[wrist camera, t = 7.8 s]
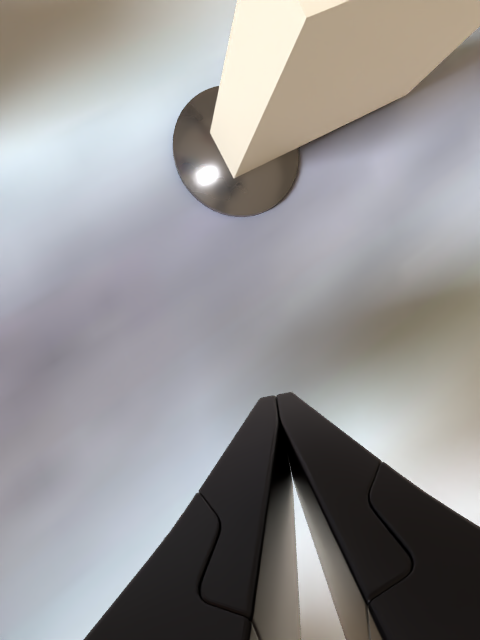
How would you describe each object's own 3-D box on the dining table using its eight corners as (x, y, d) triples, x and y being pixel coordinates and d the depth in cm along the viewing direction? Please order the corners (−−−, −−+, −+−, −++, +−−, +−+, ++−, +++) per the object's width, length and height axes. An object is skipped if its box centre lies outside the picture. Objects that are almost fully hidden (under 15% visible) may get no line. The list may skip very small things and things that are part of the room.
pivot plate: (269, 237, 17) (271, 236, 17) (152, 180, 16) (151, 178, 15) (314, 128, 17) (316, 125, 17) (202, 64, 16) (203, 60, 16)
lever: (404, 97, 18) (647, -132, 9) (232, 180, 16) (314, 0, 7) (385, 55, 18) (617, -227, 8) (209, 134, 16) (260, -115, 7)
